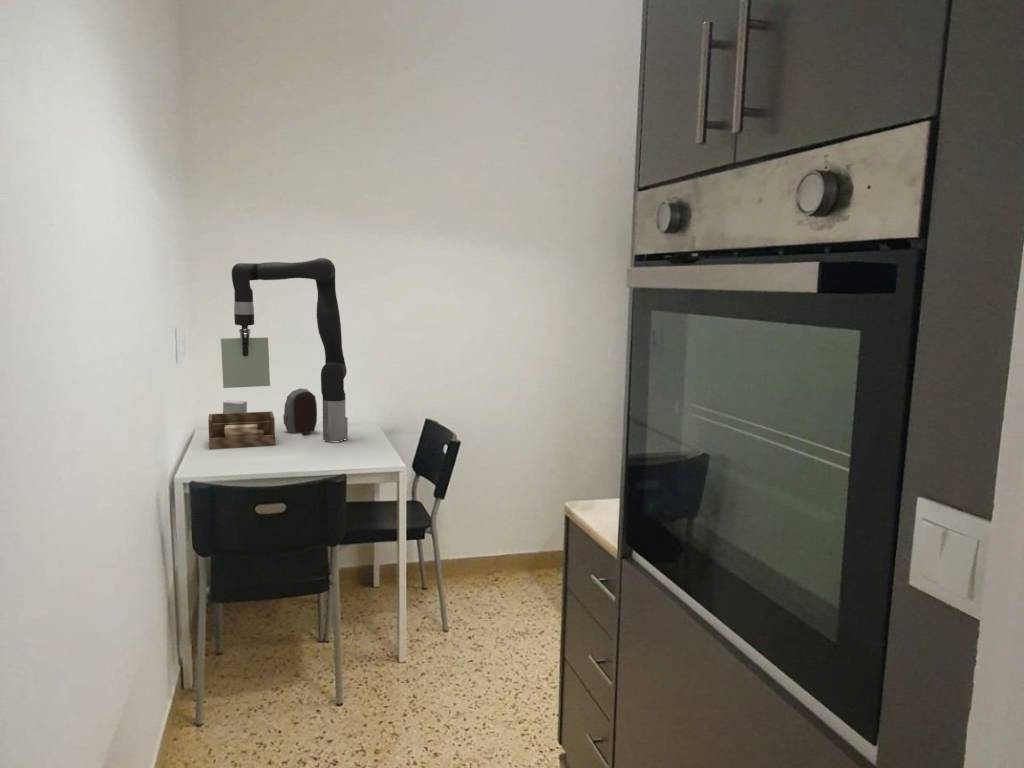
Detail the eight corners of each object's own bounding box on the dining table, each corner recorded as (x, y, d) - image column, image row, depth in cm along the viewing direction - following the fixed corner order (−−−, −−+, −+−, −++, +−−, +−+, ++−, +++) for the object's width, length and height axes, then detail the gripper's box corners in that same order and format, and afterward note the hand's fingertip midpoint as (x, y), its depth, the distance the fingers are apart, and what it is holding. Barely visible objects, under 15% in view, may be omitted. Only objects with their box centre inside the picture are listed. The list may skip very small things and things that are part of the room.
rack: (272, 441, 300) (272, 411, 298) (275, 449, 287) (274, 418, 285) (209, 444, 291) (208, 414, 289) (209, 453, 278) (208, 421, 276)
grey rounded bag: (289, 437, 306) (288, 391, 303) (279, 434, 312) (278, 388, 309) (320, 432, 317) (320, 387, 314) (310, 429, 323) (310, 385, 320)
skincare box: (222, 437, 304) (221, 402, 302) (228, 434, 310) (227, 399, 308) (242, 438, 304) (241, 403, 301) (247, 434, 310) (247, 400, 307)
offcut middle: (262, 435, 292) (262, 429, 291) (263, 438, 287) (263, 432, 287) (224, 438, 286) (224, 431, 285) (225, 440, 281) (225, 434, 281)
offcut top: (257, 430, 290) (257, 424, 289) (257, 433, 285) (257, 426, 285) (225, 431, 286) (225, 425, 286) (224, 434, 281) (224, 428, 281)
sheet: (269, 385, 303) (267, 337, 300) (269, 385, 301) (268, 337, 298) (223, 387, 297) (220, 338, 293) (223, 388, 295) (220, 338, 292)
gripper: (254, 314, 289) (256, 357, 292) (253, 312, 302) (254, 353, 305) (234, 314, 287) (236, 357, 289) (233, 312, 299) (235, 353, 302)
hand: (245, 355), depth 297 cm, fingers closed on sheet, 2 cm apart
